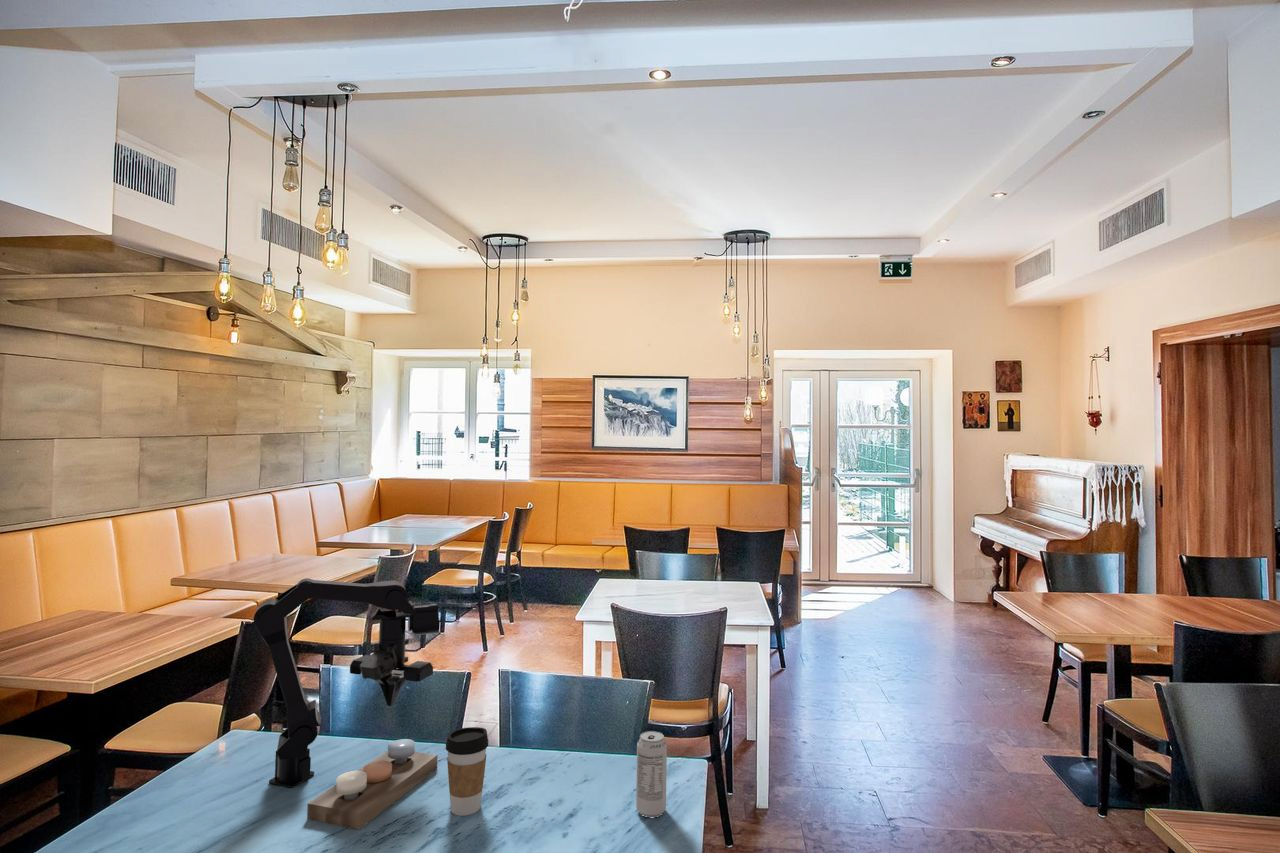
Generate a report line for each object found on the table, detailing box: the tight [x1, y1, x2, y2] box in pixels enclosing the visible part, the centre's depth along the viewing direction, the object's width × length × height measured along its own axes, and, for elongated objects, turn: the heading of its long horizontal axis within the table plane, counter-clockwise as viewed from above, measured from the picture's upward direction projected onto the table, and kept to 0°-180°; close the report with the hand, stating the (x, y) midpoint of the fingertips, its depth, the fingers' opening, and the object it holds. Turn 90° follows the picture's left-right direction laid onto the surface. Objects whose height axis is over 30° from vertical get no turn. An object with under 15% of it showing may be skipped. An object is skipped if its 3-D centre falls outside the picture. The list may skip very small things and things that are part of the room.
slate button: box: [387, 738, 416, 765], centre depth 150 cm, size 6×6×5 cm
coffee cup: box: [445, 726, 489, 817], centre depth 137 cm, size 8×8×15 cm
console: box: [306, 750, 438, 830], centre depth 142 cm, size 12×26×3 cm, turn 164°
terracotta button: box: [363, 761, 392, 783], centre depth 142 cm, size 6×6×5 cm
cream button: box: [335, 770, 367, 801], centre depth 135 cm, size 6×6×5 cm
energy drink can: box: [635, 730, 668, 817], centre depth 136 cm, size 6×6×15 cm
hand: (390, 705), depth 156 cm, fingers closed
